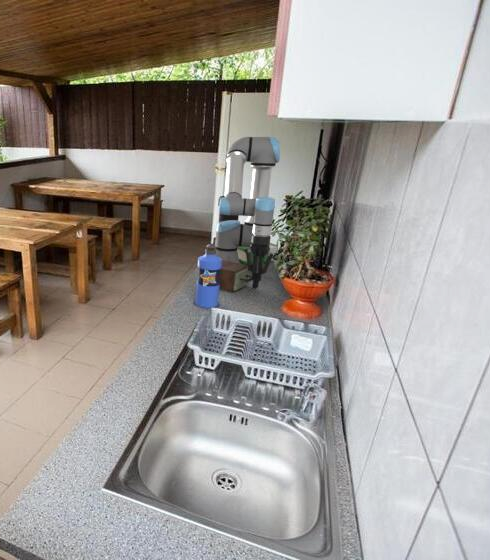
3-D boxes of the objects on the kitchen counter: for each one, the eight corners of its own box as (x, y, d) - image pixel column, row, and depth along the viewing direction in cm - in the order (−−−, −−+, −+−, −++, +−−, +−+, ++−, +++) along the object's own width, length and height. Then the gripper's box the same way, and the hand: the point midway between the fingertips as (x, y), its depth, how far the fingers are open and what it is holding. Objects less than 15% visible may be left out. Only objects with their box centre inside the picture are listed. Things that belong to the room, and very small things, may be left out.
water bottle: (195, 298, 179) (200, 240, 171) (218, 300, 177) (223, 242, 169) (194, 306, 170) (198, 246, 162) (217, 309, 168) (223, 247, 160)
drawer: (256, 286, 191) (258, 270, 189) (244, 293, 183) (246, 275, 181) (220, 277, 202) (222, 262, 200) (208, 283, 194) (210, 267, 192)
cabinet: (245, 285, 196) (247, 265, 192) (232, 292, 187) (234, 271, 183) (217, 278, 205) (218, 259, 201) (203, 284, 196) (205, 264, 192)
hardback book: (226, 243, 238) (257, 239, 249) (225, 255, 240) (256, 251, 251) (249, 251, 223) (281, 246, 234) (247, 264, 226) (279, 259, 237)
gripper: (243, 233, 180) (237, 286, 187) (273, 238, 172) (266, 293, 179) (250, 231, 185) (245, 282, 193) (280, 235, 177) (273, 288, 185)
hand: (255, 287), depth 186 cm, fingers closed
